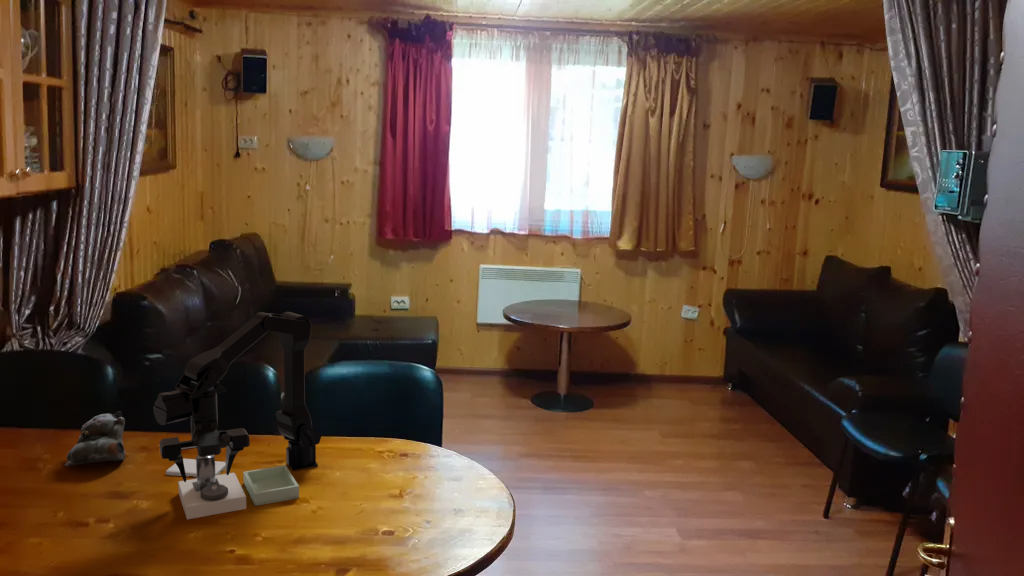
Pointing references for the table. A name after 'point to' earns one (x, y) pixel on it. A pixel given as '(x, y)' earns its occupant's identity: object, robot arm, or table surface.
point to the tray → (271, 485)
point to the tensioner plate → (212, 496)
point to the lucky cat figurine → (99, 440)
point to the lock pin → (205, 471)
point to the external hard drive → (194, 468)
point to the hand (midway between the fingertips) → (206, 478)
